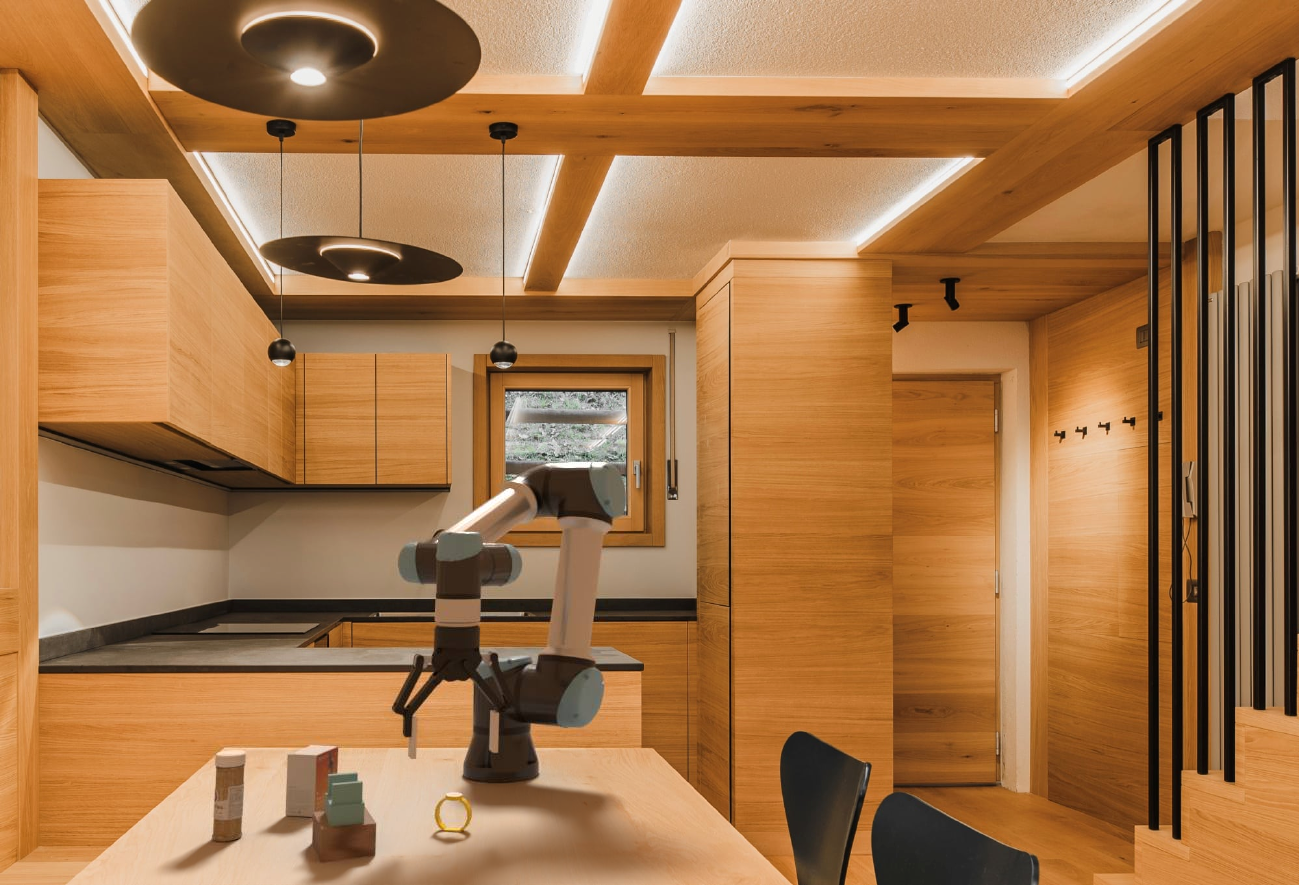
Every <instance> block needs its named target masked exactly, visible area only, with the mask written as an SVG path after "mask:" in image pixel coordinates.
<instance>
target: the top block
mask: <svg viewBox="0 0 1299 885" xmlns="http://www.w3.org/2000/svg"><path fill="white" fill-rule="evenodd" d="M358 774H359V773H358V772H357V771H352V772H340V773H338V772H337V774H328V793H325V815H326V818H327V821H328V823H329V826H330V827H333V826H342V825H352V824H361V823H364V807H366V806H365V805H366V804H365V801H364V799H363V788H364V786H363V780H359V778H358Z"/></svg>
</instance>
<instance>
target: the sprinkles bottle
mask: <svg viewBox="0 0 1299 885" xmlns="http://www.w3.org/2000/svg"><path fill="white" fill-rule="evenodd" d="M246 759H247V752H246V751H244V750H241V749H229V750H228V749H227V750H222V751H219V752H217V753H216V754H215V756H214V765H215V769H216V771H215V788H214V802H213V827H212V835H211V839H212V840H214V841H215V842H230V841H235V840H238V839H240V838H241V837H242V836H243V832H242V826H243V824H242V823H243V814H244V792H245V780H244V779H245V766H246V763H247V762H246V761H247V760H246Z"/></svg>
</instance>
